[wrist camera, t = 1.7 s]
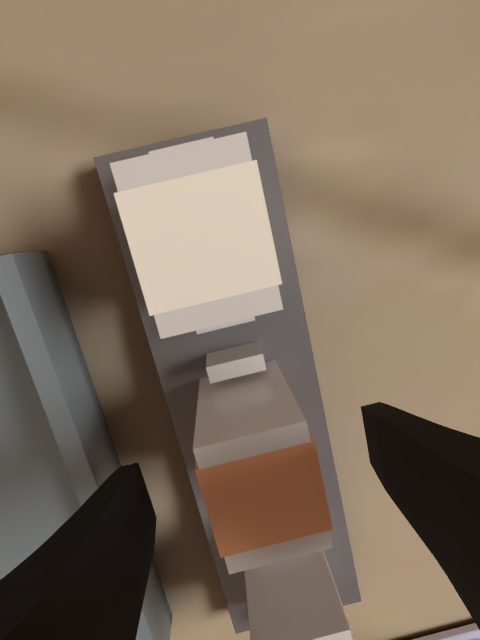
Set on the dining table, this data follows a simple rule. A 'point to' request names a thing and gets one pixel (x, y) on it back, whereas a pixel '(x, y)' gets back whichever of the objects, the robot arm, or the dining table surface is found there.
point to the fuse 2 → (295, 601)
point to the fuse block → (242, 359)
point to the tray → (50, 424)
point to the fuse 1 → (199, 234)
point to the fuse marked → (259, 471)
